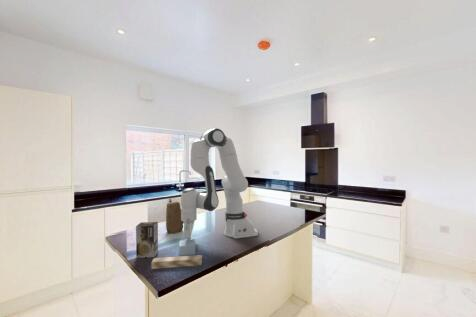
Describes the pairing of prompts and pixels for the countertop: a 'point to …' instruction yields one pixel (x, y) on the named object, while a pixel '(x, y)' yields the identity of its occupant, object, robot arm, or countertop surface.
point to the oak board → (177, 261)
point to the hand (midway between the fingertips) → (188, 240)
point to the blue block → (187, 247)
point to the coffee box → (146, 239)
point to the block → (173, 218)
